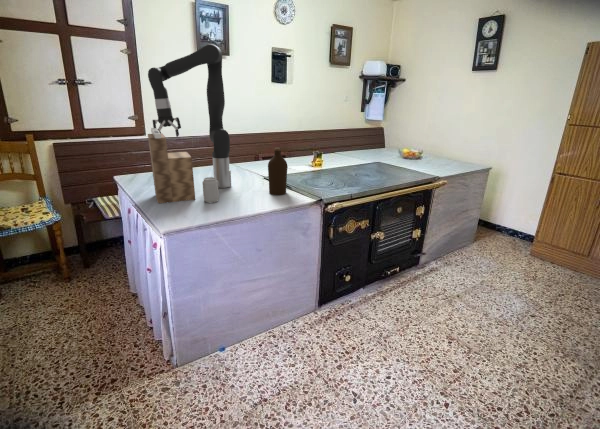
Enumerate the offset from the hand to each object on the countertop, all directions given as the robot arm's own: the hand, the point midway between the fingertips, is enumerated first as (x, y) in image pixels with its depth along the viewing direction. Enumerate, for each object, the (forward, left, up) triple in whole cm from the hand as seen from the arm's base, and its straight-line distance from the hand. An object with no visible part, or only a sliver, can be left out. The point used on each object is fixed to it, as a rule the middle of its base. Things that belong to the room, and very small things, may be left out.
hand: (169, 137), depth 192 cm
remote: (+8, +21, +4) cm, 23 cm away
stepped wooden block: (+3, +24, -28) cm, 37 cm away
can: (-13, +38, -28) cm, 49 cm away
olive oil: (-50, +37, -28) cm, 69 cm away
